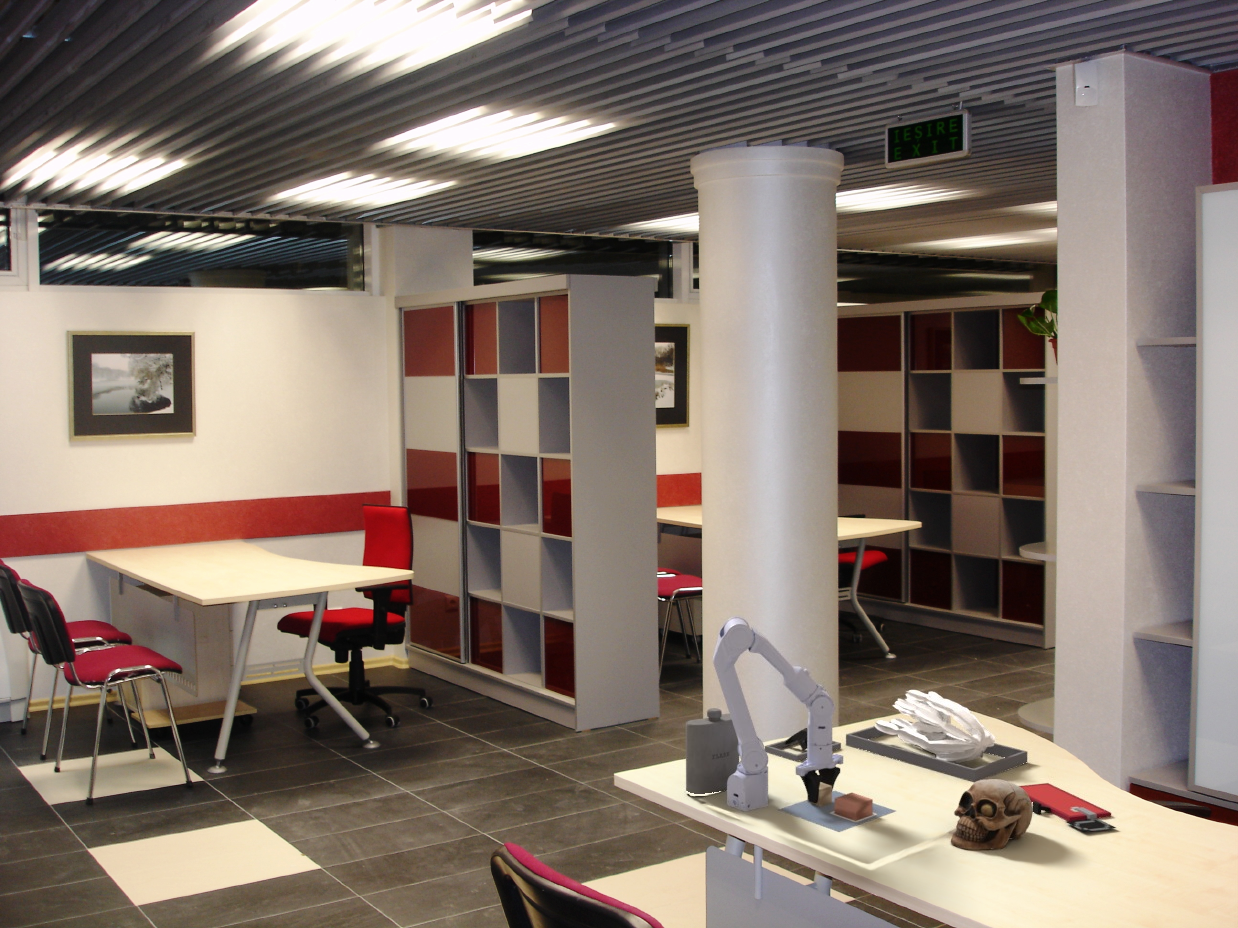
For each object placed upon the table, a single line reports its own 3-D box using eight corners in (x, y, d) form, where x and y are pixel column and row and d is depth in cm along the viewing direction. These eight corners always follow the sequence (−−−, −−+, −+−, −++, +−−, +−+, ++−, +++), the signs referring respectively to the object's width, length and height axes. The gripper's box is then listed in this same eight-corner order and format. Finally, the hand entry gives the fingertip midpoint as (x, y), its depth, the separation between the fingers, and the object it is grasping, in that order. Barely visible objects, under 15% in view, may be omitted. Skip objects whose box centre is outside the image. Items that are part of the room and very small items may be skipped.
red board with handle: (1077, 836, 253) (1134, 829, 257) (1077, 823, 253) (1134, 817, 257) (994, 793, 282) (1047, 788, 286) (995, 782, 282) (1048, 777, 286)
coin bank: (947, 846, 247) (951, 782, 248) (959, 827, 263) (962, 767, 264) (1025, 860, 241) (1029, 795, 241) (1032, 840, 257) (1036, 779, 257)
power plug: (784, 740, 323) (815, 722, 316) (798, 765, 320) (830, 747, 314) (773, 746, 318) (805, 727, 312) (788, 771, 316) (819, 753, 309)
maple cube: (820, 806, 270) (820, 789, 269) (807, 801, 273) (807, 784, 272) (831, 802, 272) (832, 785, 272) (818, 797, 275) (818, 781, 275)
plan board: (838, 836, 254) (838, 831, 254) (777, 813, 268) (777, 808, 268) (896, 814, 267) (896, 810, 266) (835, 794, 280) (835, 790, 280)
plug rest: (797, 761, 306) (797, 755, 306) (764, 751, 315) (764, 745, 315) (840, 748, 317) (840, 742, 317) (808, 738, 326) (808, 733, 326)
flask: (696, 799, 278) (695, 716, 276) (681, 792, 283) (681, 711, 281) (745, 788, 286) (745, 707, 284) (731, 781, 290) (730, 702, 289)
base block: (855, 820, 260) (855, 805, 260) (834, 813, 265) (834, 798, 265) (872, 814, 264) (872, 799, 264) (851, 807, 269) (851, 792, 269)
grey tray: (974, 781, 289) (974, 770, 289) (845, 744, 320) (845, 734, 320) (1027, 762, 304) (1027, 751, 304) (899, 729, 335) (899, 718, 335)
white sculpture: (1020, 730, 300) (935, 696, 333) (972, 698, 294) (891, 667, 326) (989, 789, 298) (908, 749, 330) (941, 759, 291) (862, 721, 324)
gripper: (812, 752, 264) (811, 811, 265) (853, 740, 273) (853, 797, 274) (788, 745, 269) (788, 803, 270) (830, 733, 279) (830, 789, 279)
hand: (819, 799), depth 272 cm, fingers closed on maple cube, 4 cm apart
